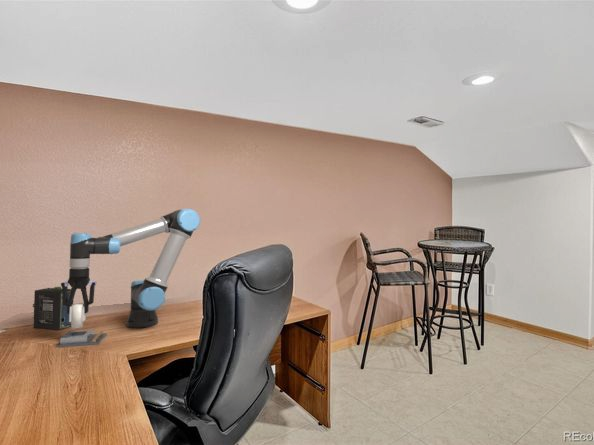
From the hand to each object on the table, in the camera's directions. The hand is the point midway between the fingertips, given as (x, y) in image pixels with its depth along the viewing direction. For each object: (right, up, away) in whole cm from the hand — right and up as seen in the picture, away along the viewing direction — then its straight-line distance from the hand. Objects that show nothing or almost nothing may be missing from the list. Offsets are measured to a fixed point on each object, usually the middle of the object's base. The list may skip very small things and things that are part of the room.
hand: (77, 320), depth 150 cm
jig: (+2, -9, +1) cm, 10 cm away
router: (-26, -10, +21) cm, 34 cm away
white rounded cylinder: (0, -3, 0) cm, 3 cm away
